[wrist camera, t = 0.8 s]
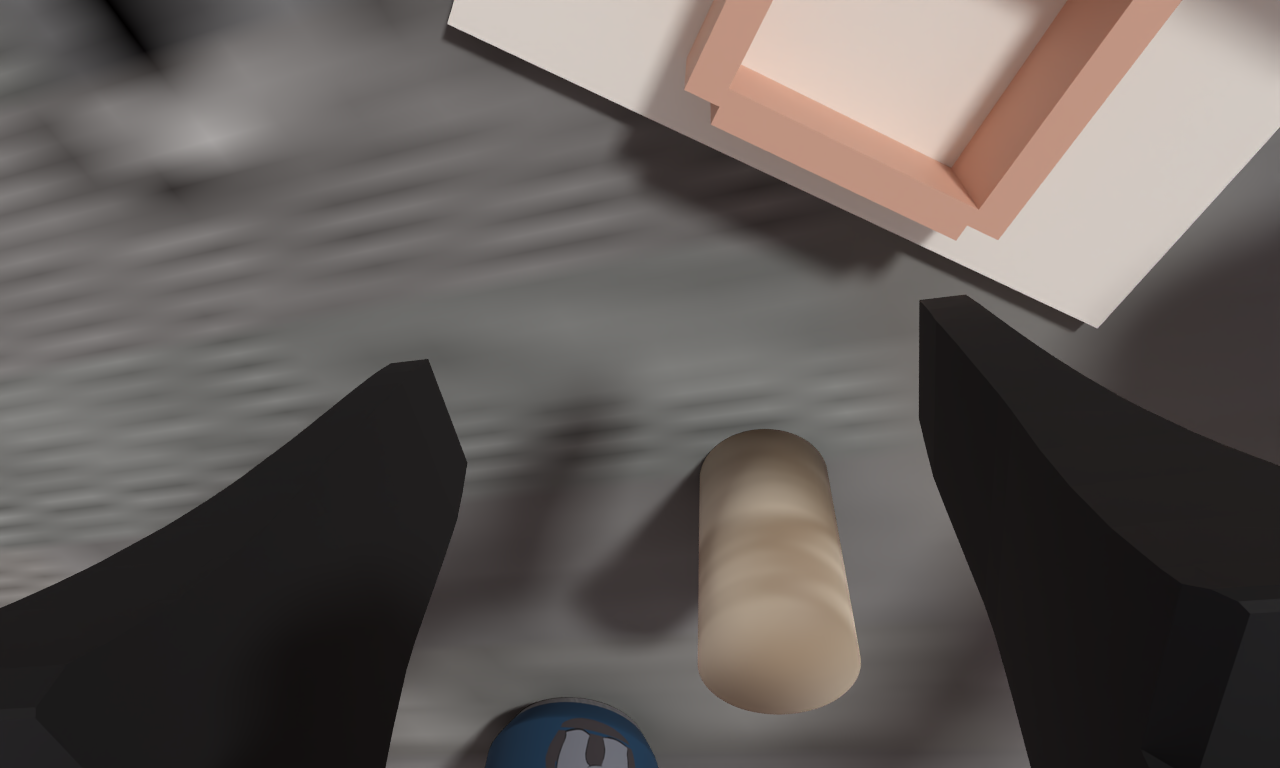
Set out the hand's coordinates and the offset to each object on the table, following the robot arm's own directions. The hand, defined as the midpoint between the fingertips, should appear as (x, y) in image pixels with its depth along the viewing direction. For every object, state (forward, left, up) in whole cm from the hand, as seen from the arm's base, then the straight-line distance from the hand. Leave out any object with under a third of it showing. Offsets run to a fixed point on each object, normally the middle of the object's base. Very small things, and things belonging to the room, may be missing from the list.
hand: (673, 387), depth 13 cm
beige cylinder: (-7, +9, -10) cm, 15 cm away
